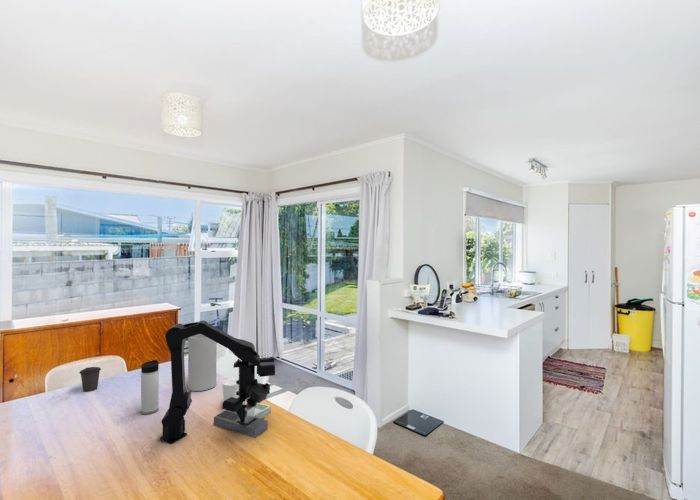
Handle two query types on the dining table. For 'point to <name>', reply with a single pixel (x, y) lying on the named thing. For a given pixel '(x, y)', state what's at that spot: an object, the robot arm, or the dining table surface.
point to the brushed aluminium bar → (249, 415)
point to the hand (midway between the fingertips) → (246, 419)
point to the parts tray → (262, 410)
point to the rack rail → (232, 423)
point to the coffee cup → (90, 378)
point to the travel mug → (150, 387)
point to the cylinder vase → (201, 363)
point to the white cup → (230, 388)
